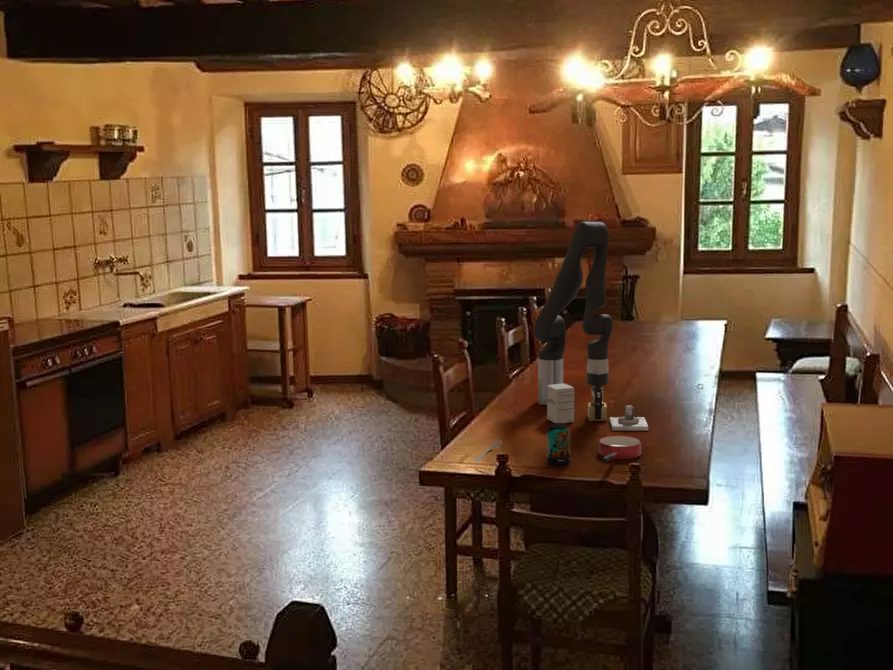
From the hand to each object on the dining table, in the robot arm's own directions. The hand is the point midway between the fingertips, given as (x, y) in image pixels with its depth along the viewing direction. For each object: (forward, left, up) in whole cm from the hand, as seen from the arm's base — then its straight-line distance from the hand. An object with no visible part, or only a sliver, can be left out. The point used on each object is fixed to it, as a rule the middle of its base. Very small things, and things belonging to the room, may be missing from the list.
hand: (597, 416), depth 363 cm
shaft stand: (+10, -10, -1) cm, 14 cm away
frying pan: (+3, -52, -1) cm, 52 cm away
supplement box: (-13, -3, -1) cm, 13 cm away
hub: (0, 0, -1) cm, 1 cm away
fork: (-38, -43, -1) cm, 57 cm away
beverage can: (-15, -53, -1) cm, 55 cm away
